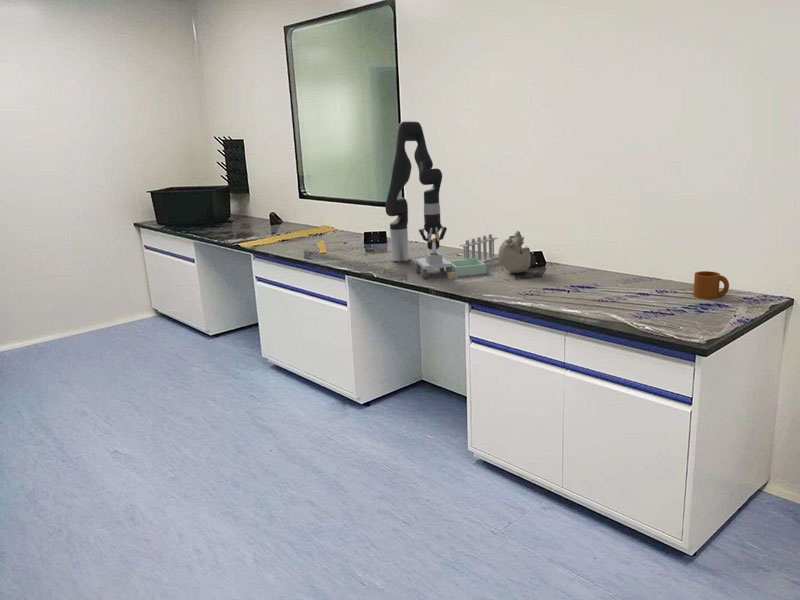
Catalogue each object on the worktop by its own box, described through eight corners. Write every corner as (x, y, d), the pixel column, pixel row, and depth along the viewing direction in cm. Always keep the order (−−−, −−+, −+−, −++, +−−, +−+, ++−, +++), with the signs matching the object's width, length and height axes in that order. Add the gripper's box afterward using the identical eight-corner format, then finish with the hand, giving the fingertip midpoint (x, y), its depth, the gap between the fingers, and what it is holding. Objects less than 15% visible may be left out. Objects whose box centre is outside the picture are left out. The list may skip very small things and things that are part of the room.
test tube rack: (466, 268, 309) (465, 241, 305) (459, 266, 312) (459, 241, 309) (498, 258, 325) (498, 233, 321) (491, 257, 328) (491, 232, 325)
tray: (447, 269, 307) (446, 261, 306) (475, 266, 310) (475, 257, 309) (455, 276, 293) (455, 267, 292) (486, 273, 296) (486, 264, 295)
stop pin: (430, 259, 297) (429, 238, 294) (436, 258, 297) (435, 237, 294) (431, 260, 294) (431, 239, 291) (437, 259, 294) (436, 238, 292)
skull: (530, 276, 286) (530, 233, 281) (497, 276, 290) (497, 233, 284) (530, 269, 298) (530, 228, 293) (499, 269, 301) (498, 228, 296)
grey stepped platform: (415, 271, 308) (414, 250, 305) (443, 268, 310) (442, 247, 307) (425, 281, 288) (424, 259, 286) (455, 277, 291) (454, 255, 288)
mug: (723, 301, 234) (725, 278, 231) (690, 297, 241) (691, 275, 239) (730, 295, 240) (732, 273, 237) (697, 291, 248) (698, 269, 245)
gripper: (444, 210, 294) (445, 246, 299) (415, 212, 291) (417, 249, 296) (448, 212, 287) (450, 249, 292) (419, 215, 284) (421, 252, 289)
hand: (433, 248), depth 294 cm, fingers closed on stop pin, 2 cm apart
